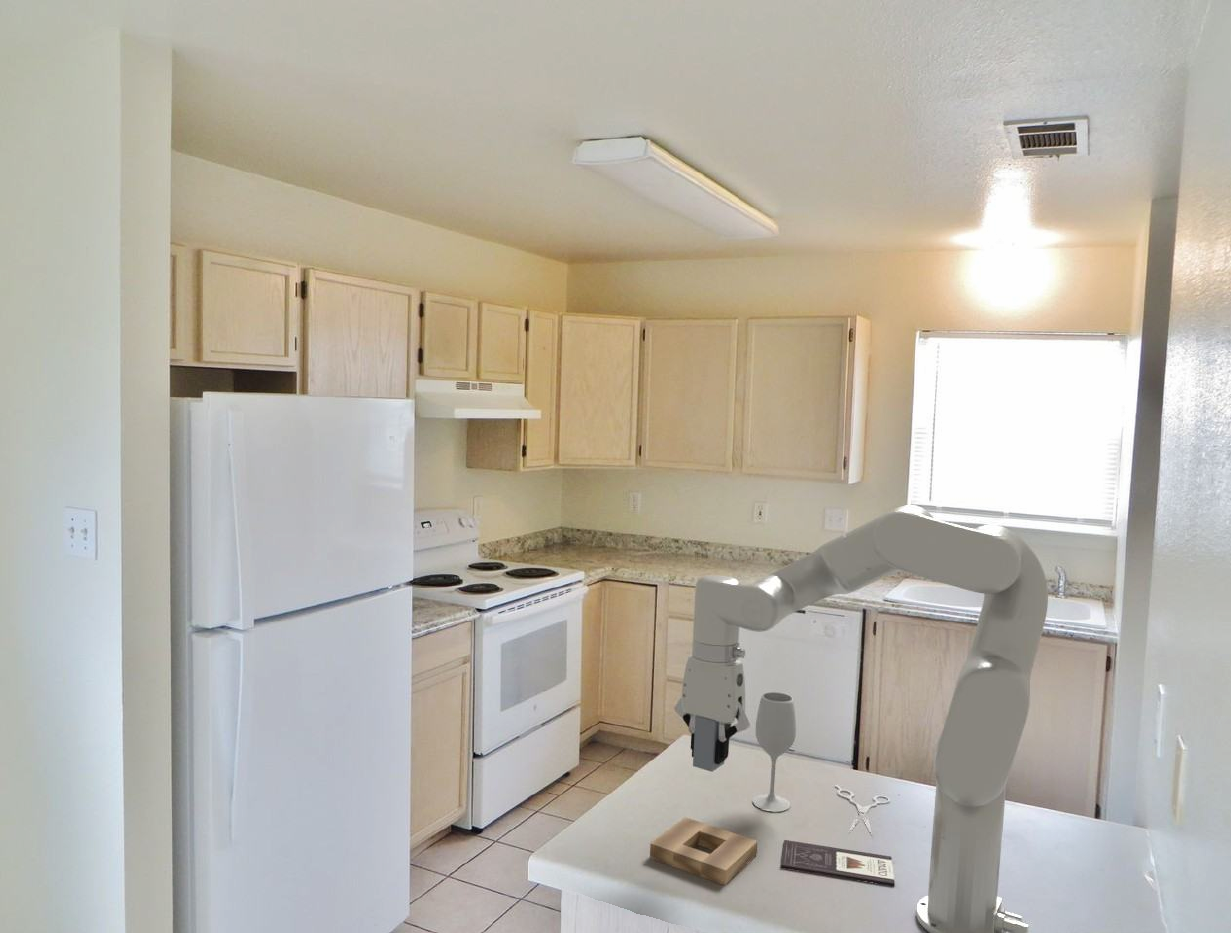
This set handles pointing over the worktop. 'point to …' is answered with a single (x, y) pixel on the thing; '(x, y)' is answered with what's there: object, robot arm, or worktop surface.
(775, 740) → the wineglass
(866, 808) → the scissors
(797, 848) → the chocolate bar
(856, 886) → the worktop surface
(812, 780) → the worktop surface
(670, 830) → the socket board
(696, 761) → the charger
